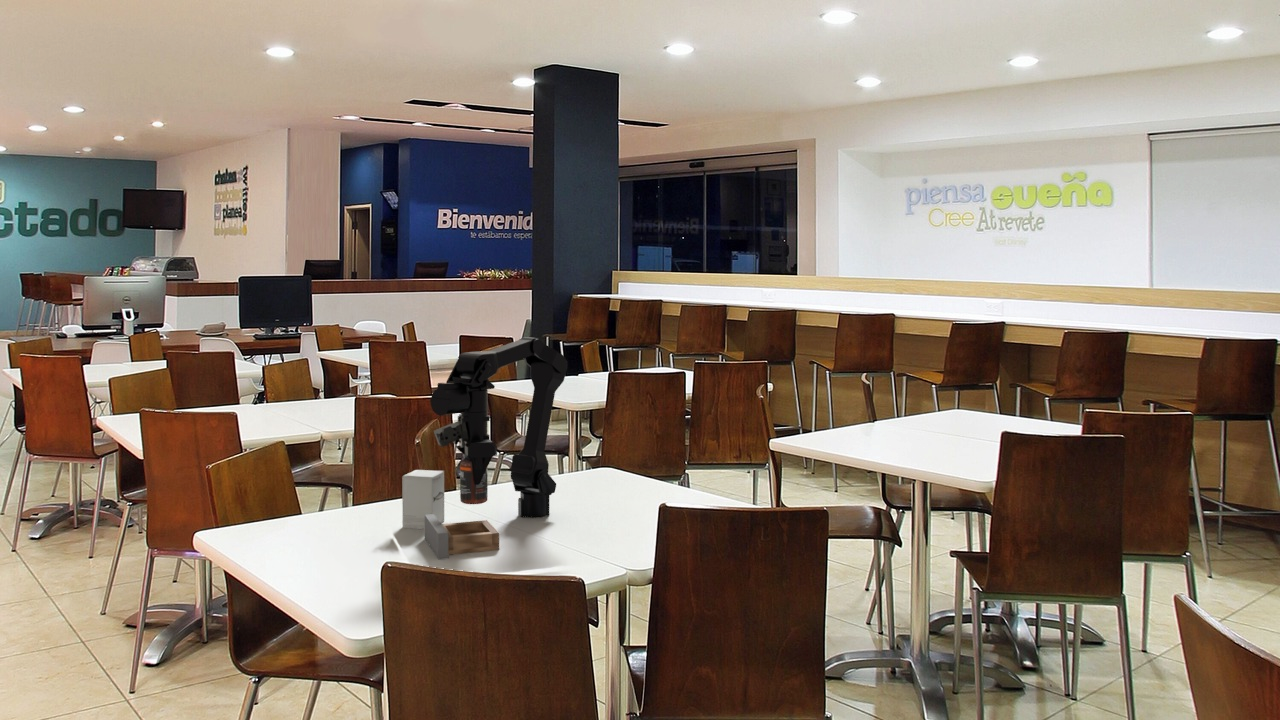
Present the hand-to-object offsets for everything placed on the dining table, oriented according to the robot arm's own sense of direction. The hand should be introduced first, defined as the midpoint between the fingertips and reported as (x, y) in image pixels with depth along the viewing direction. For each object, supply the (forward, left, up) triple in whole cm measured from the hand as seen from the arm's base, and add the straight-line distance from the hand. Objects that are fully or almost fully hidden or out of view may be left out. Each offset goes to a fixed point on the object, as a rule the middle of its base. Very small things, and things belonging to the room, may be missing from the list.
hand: (474, 481), depth 219 cm
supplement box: (+9, -11, -13) cm, 19 cm away
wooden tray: (+3, +9, -12) cm, 15 cm away
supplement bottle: (0, 0, -5) cm, 5 cm away
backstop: (0, +9, -12) cm, 15 cm away
